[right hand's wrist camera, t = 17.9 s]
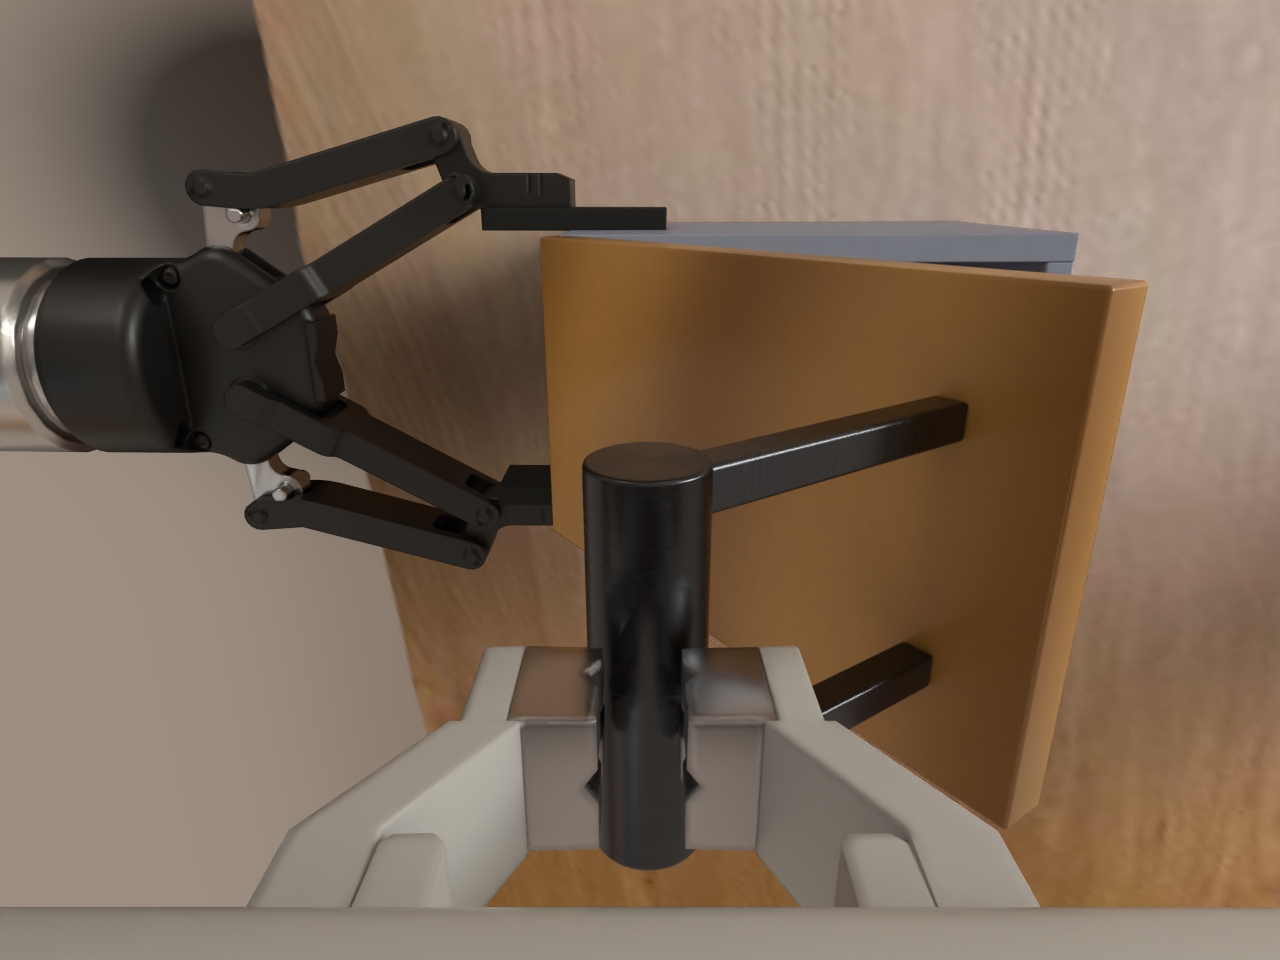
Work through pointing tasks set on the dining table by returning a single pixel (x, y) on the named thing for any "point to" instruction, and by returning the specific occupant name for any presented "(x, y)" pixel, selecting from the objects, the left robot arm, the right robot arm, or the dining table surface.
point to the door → (831, 496)
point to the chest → (877, 241)
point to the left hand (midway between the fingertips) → (664, 359)
